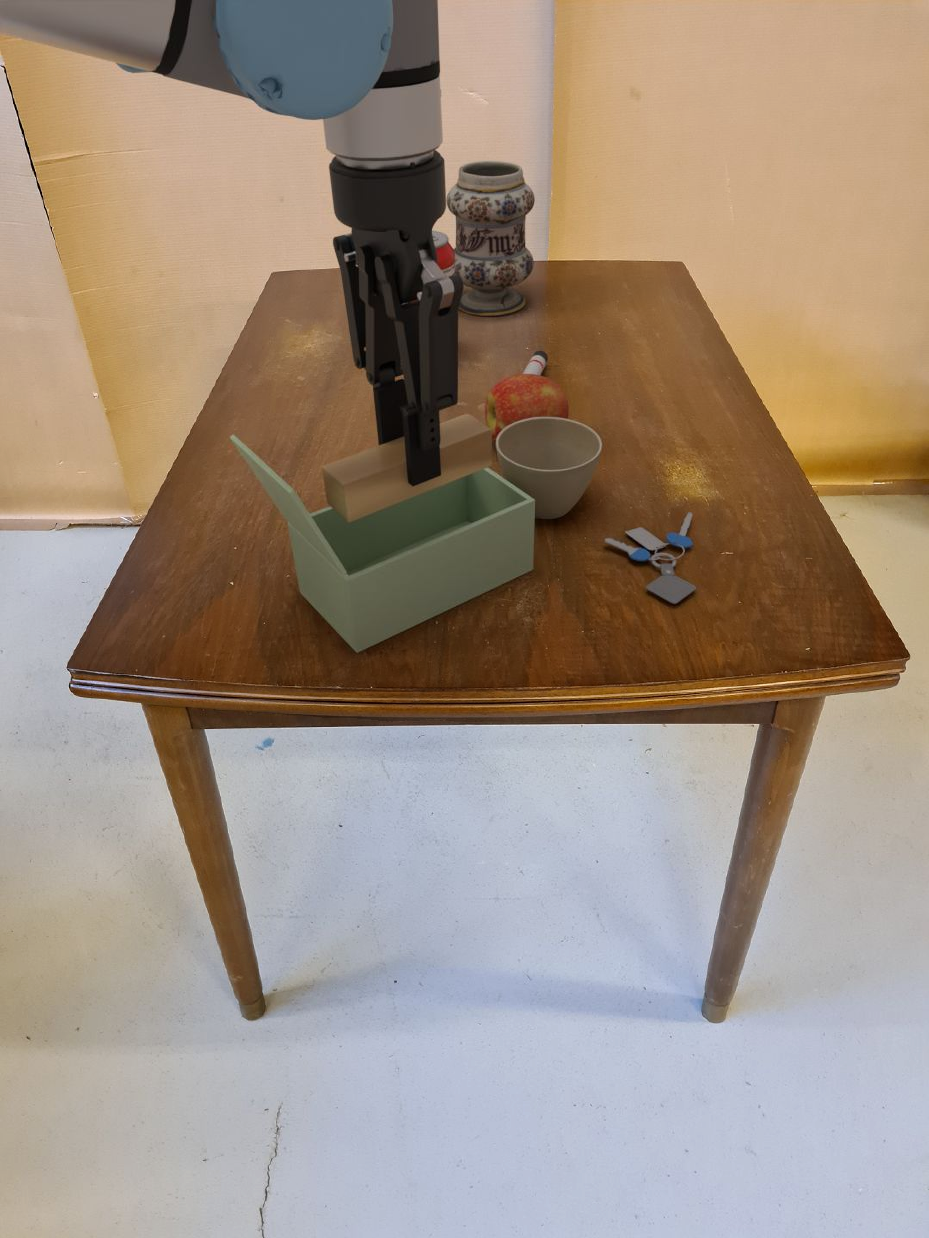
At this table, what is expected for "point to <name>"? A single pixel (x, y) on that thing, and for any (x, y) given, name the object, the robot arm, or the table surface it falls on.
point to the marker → (536, 363)
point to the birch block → (403, 469)
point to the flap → (288, 503)
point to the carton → (416, 556)
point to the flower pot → (549, 461)
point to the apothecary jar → (491, 235)
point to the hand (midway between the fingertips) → (410, 467)
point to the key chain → (667, 582)
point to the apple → (523, 401)
